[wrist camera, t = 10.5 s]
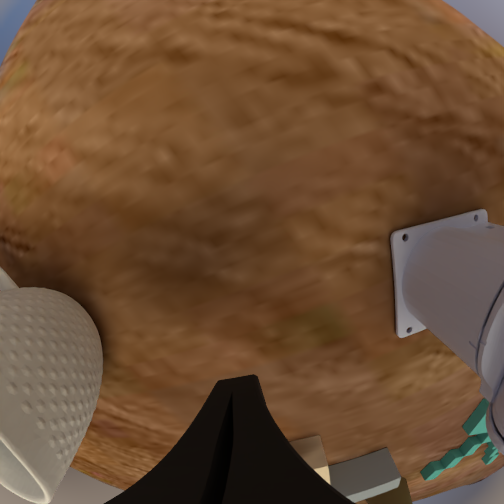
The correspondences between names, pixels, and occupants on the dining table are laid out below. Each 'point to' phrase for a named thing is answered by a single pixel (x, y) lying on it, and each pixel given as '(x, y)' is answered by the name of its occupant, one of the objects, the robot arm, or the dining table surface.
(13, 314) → the mug
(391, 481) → the board
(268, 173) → the dining table surface
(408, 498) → the cork
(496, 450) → the alien figure
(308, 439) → the maple block
